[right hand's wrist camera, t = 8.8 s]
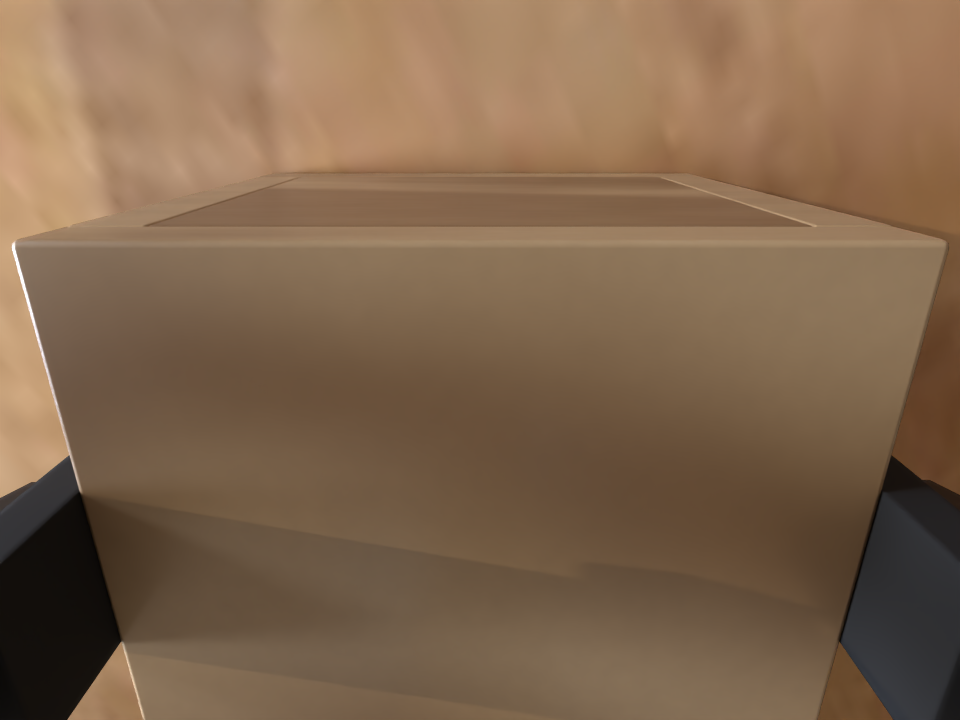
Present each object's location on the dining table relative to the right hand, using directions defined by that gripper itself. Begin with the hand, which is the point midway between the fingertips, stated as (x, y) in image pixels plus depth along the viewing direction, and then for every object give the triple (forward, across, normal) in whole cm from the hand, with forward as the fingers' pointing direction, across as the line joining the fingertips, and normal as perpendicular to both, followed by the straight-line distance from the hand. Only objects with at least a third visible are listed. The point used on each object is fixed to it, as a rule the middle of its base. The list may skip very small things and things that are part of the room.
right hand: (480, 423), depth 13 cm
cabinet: (+5, 0, -6) cm, 8 cm away
